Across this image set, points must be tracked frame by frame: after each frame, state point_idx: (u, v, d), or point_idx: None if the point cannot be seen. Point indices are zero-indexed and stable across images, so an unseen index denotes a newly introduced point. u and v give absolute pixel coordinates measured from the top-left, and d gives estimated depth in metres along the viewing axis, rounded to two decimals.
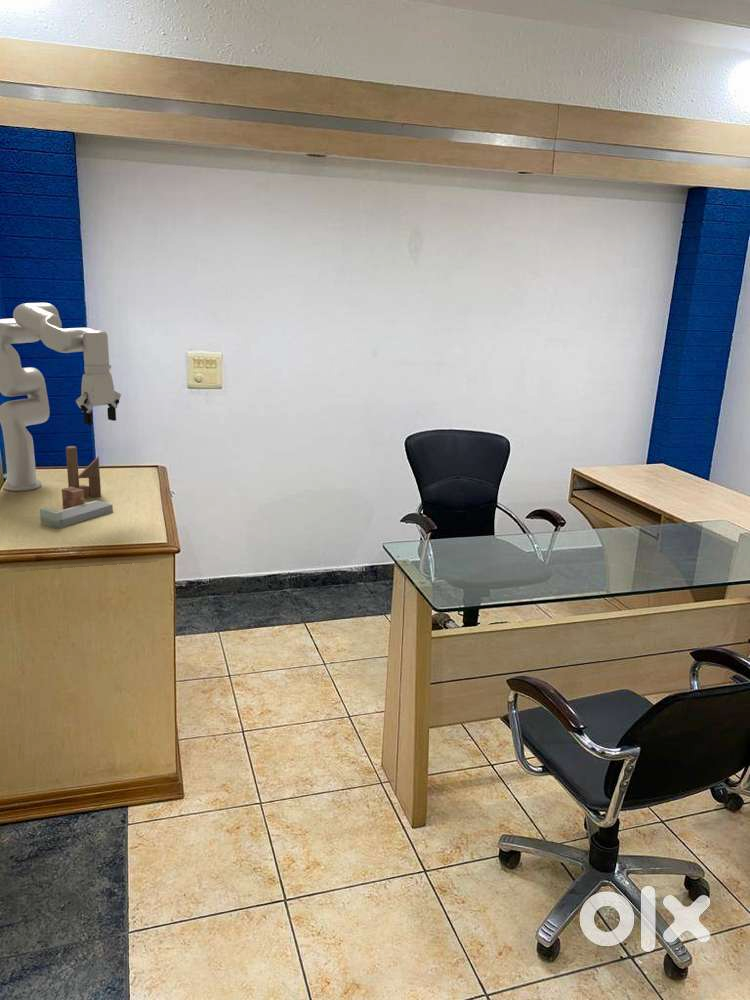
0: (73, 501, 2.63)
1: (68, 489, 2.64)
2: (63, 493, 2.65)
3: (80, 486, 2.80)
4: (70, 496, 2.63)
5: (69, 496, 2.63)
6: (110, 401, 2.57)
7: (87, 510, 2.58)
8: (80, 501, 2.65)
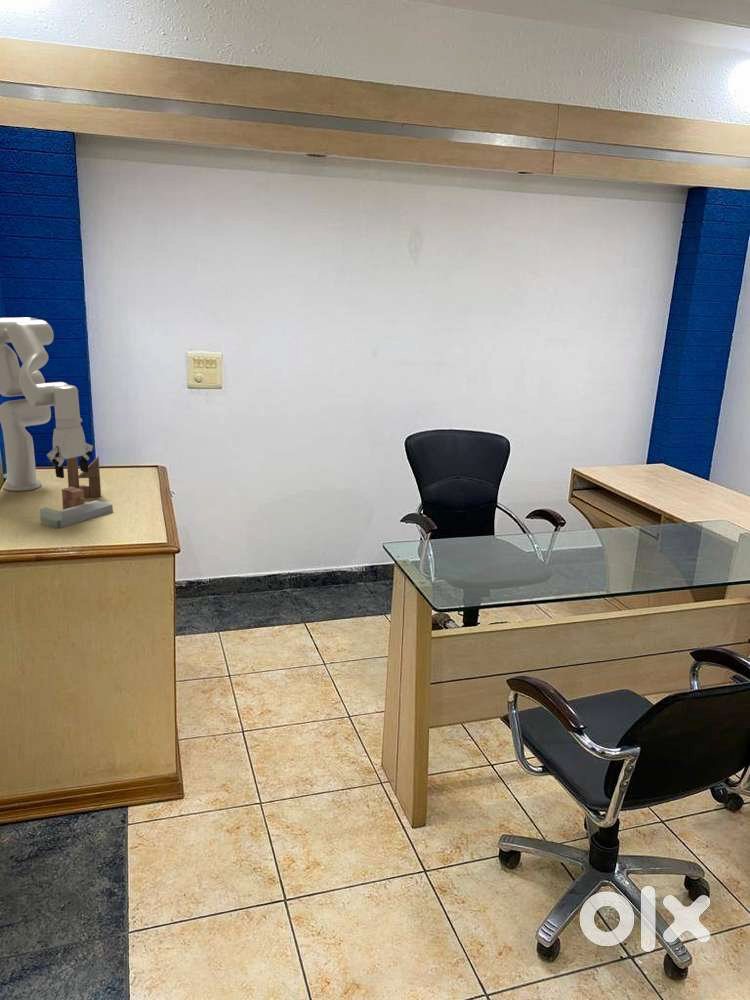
0: (73, 501, 2.63)
1: (68, 489, 2.64)
2: (63, 493, 2.65)
3: (80, 486, 2.80)
4: (70, 496, 2.63)
5: (69, 496, 2.63)
6: (82, 453, 2.62)
7: (87, 510, 2.58)
8: (80, 501, 2.65)
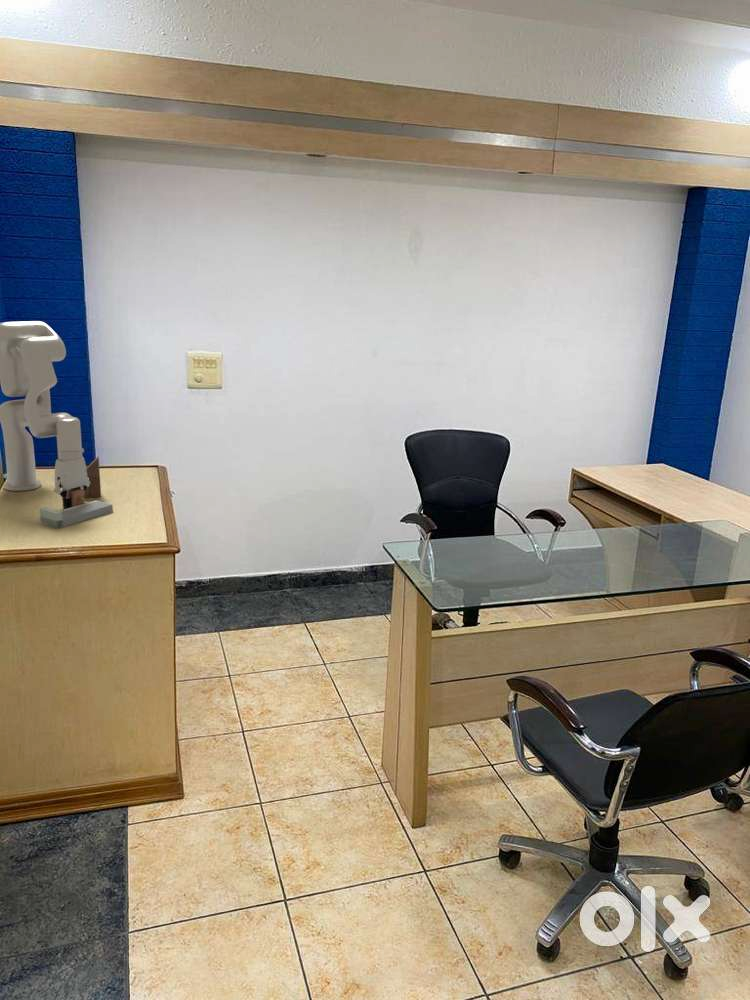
0: (73, 501, 2.63)
1: None
2: None
3: None
4: (70, 496, 2.63)
5: None
6: (83, 483, 2.66)
7: (87, 510, 2.58)
8: (80, 501, 2.65)
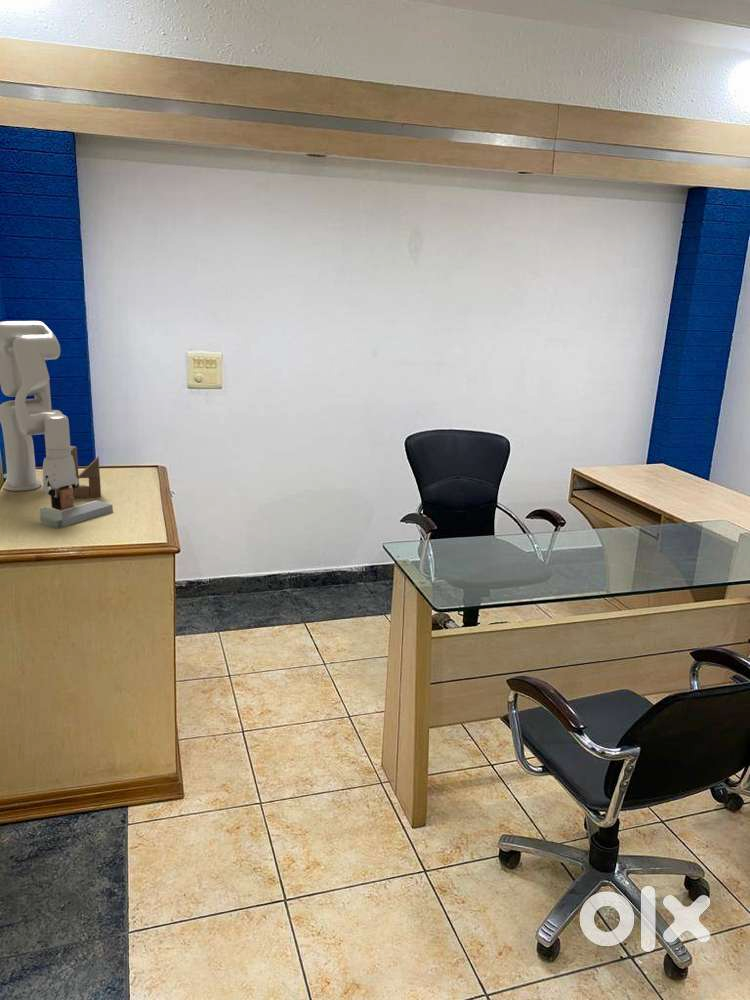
0: (62, 500, 2.59)
1: None
2: None
3: (80, 486, 2.80)
4: (58, 494, 2.59)
5: (58, 495, 2.59)
6: (72, 482, 2.62)
7: (87, 510, 2.58)
8: (69, 500, 2.61)
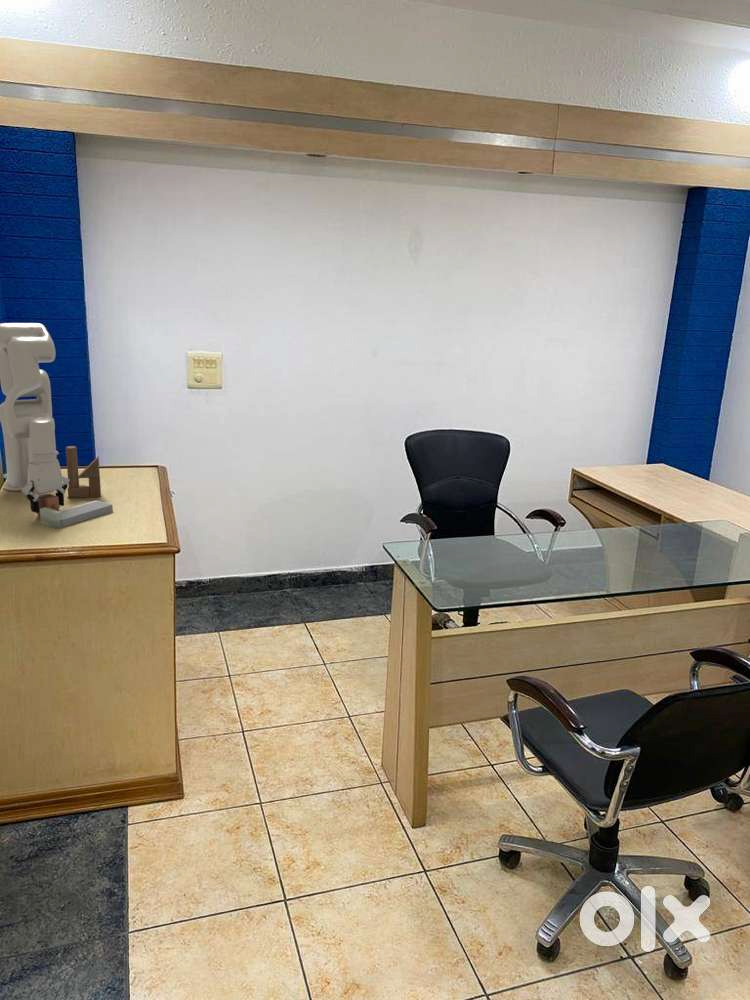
0: None
1: (43, 496, 2.56)
2: (37, 500, 2.56)
3: (80, 486, 2.80)
4: (44, 503, 2.55)
5: (43, 503, 2.55)
6: (58, 487, 2.57)
7: (87, 510, 2.58)
8: (55, 508, 2.57)
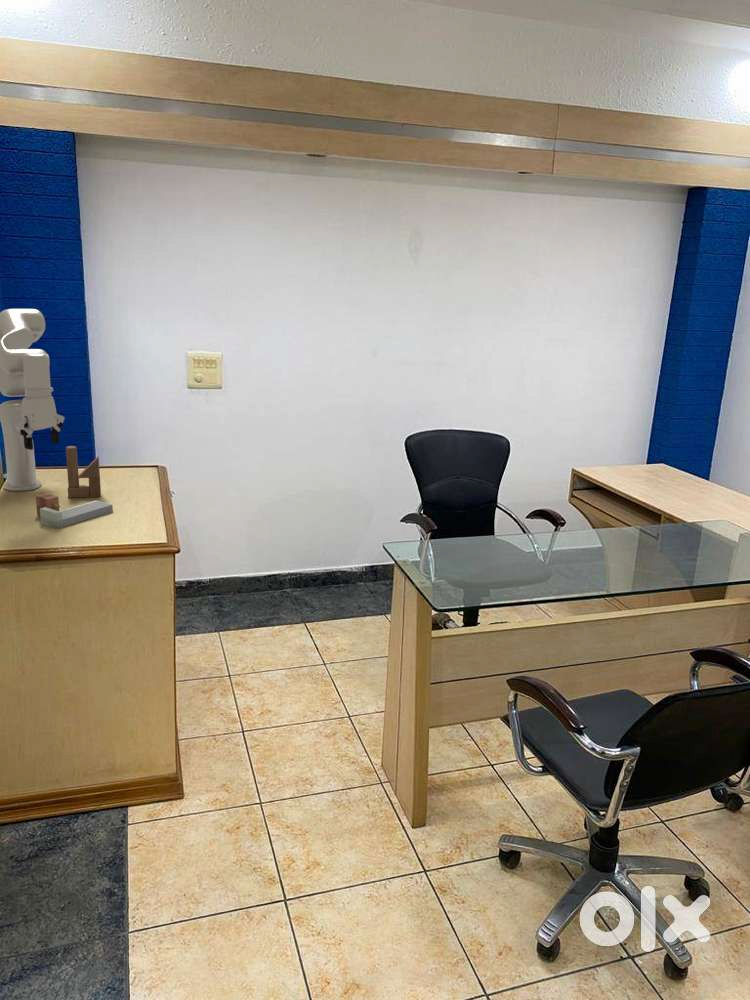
0: None
1: (43, 496, 2.56)
2: (37, 500, 2.56)
3: (80, 486, 2.80)
4: (44, 503, 2.55)
5: (43, 503, 2.55)
6: (52, 425, 2.51)
7: (87, 510, 2.58)
8: (55, 508, 2.57)
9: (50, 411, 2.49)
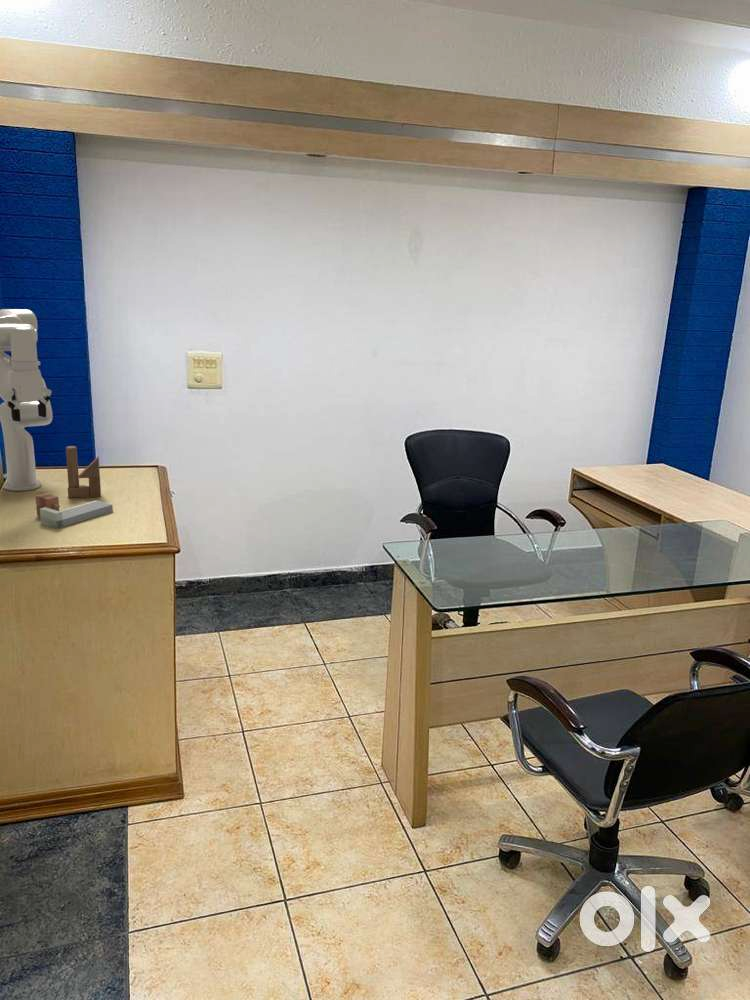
0: None
1: (43, 496, 2.56)
2: (37, 500, 2.56)
3: (80, 486, 2.80)
4: (44, 503, 2.55)
5: (43, 503, 2.55)
6: (39, 397, 2.58)
7: (87, 510, 2.58)
8: (55, 508, 2.57)
9: (37, 384, 2.55)
